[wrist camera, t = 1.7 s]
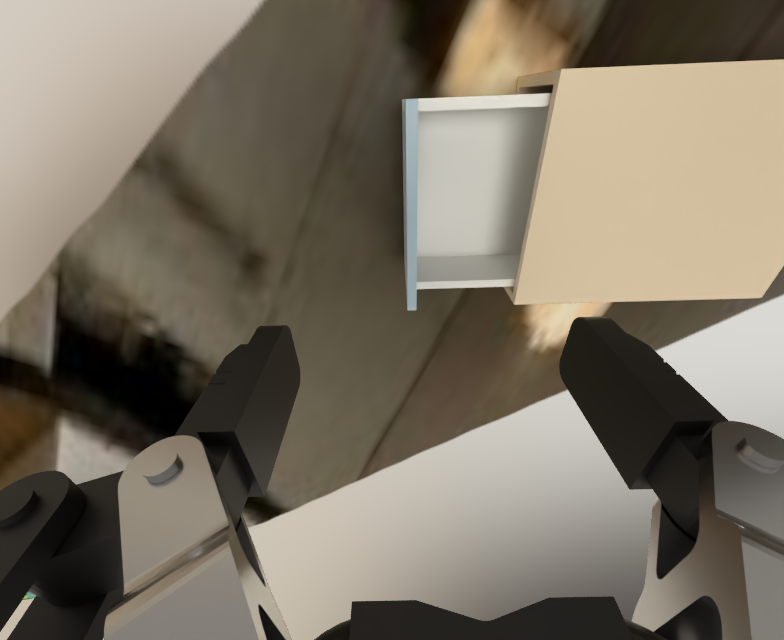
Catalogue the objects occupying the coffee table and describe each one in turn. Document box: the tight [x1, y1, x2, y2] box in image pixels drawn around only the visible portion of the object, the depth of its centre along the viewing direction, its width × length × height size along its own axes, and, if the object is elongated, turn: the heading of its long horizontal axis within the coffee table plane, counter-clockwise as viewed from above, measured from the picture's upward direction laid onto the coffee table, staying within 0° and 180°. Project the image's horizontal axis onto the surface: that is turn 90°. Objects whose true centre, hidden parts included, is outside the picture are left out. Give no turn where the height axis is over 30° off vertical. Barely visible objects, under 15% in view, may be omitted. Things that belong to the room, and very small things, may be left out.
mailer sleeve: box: [504, 59, 784, 305], centre depth 23 cm, size 18×14×7 cm
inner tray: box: [402, 93, 552, 310], centre depth 22 cm, size 25×12×8 cm, turn 92°
